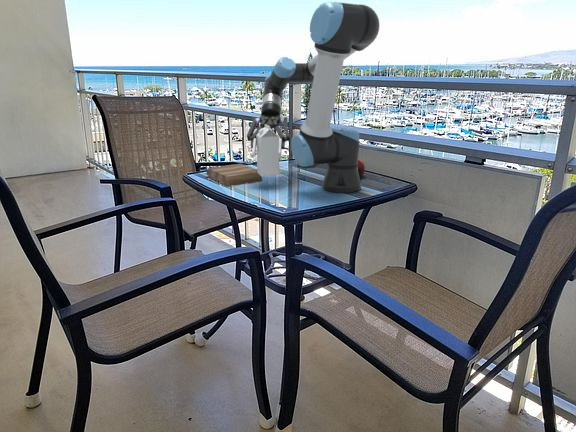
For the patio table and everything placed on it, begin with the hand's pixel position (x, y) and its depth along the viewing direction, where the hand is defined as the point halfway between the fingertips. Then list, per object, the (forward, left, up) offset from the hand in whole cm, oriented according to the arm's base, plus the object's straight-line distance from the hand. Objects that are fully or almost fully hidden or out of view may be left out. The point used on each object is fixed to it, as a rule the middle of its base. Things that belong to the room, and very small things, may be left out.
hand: (266, 154), depth 158 cm
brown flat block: (+21, +3, -13) cm, 25 cm away
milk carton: (+2, -2, -9) cm, 9 cm away
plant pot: (+25, -37, -14) cm, 47 cm away
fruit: (-5, -41, -14) cm, 43 cm away
